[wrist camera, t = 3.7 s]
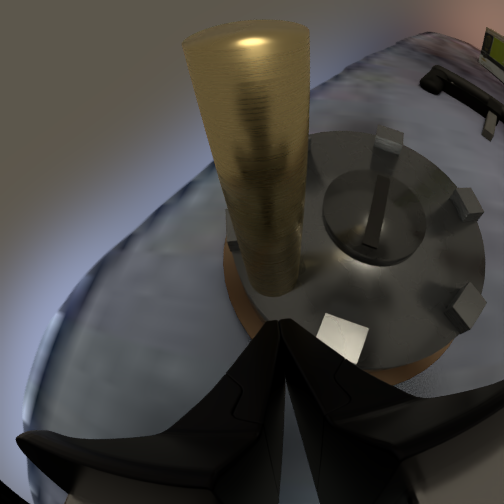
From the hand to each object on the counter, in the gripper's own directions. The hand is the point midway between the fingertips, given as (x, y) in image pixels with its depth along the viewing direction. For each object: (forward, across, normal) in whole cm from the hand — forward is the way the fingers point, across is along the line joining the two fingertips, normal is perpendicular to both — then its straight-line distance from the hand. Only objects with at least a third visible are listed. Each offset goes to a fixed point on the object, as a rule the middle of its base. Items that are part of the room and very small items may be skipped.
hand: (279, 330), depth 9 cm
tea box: (+45, -78, -34) cm, 96 cm away
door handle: (+26, -37, -14) cm, 47 cm away
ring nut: (+8, -6, 0) cm, 10 cm away
